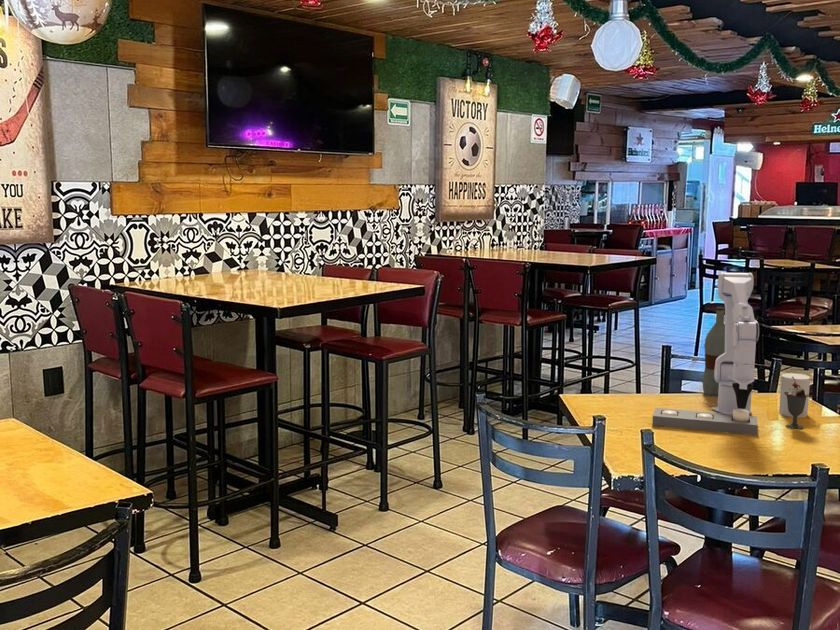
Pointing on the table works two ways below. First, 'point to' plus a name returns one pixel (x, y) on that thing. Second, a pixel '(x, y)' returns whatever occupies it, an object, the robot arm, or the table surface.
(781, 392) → the cup
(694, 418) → the control strip
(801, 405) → the sundae
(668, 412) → the button
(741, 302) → the robot arm
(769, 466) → the table surface
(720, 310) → the bottle
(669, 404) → the table surface
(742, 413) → the button
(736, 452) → the table surface
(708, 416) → the button mid
